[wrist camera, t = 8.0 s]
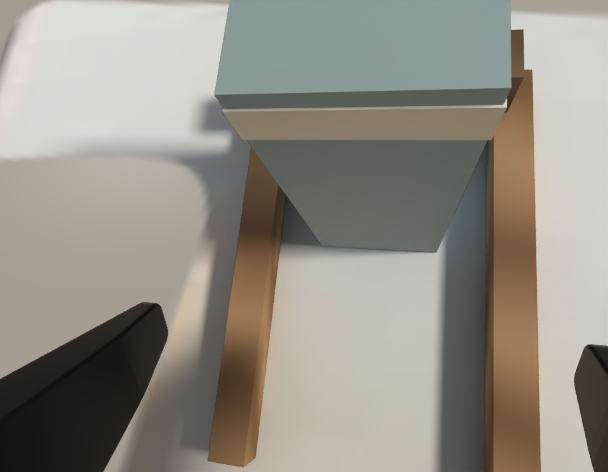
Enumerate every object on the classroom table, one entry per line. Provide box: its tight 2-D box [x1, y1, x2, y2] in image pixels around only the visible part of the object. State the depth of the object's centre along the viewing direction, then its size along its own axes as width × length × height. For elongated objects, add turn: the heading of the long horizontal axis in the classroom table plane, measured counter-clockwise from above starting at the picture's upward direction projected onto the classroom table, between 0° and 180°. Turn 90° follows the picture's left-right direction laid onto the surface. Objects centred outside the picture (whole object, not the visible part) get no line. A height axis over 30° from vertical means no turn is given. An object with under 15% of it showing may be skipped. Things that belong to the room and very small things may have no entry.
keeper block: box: [214, 0, 511, 252], centre depth 14 cm, size 5×5×12 cm
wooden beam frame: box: [208, 30, 541, 472], centre depth 17 cm, size 17×12×4 cm
